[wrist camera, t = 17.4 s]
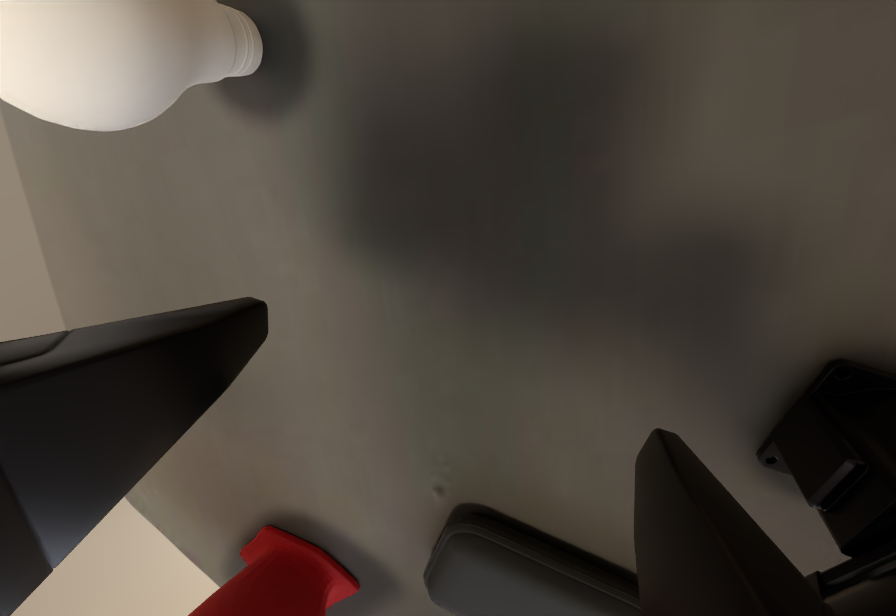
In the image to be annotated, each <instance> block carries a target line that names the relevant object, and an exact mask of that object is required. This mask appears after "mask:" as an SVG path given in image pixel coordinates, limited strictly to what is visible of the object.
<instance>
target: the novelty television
mask: <svg viewBox="0 0 896 616" xmlns="http://www.w3.org/2000/svg"><path fill="white" fill-rule="evenodd" d="M240 556H241V557H242V558H243V560H244V561H245V562H246V563H247V565H248V566H247V567H246V568H245V569H243V570H242V571H241V572H240V573H238V574H237V575H236V576H234V577H233V578H232V579H231V580H229V581H228V582H227V583H226V584H224V585H223V586H222V587H221V588H220V589H218V590H217V591H216V592H215V593H213V594H212V595H211V596H210V597H209V598H208V599H206V600H205V601H204V602H203V603H202V604H201V605H200V606H198V607H197V608H196V609H195V610H194V611H193V612H192V613H190V614H189V615H188V616H326V609H328V608H329V607H330V606H331V605H333V604H334V603H336V602H338V601H340V600H342V599H344V598H347V597H349V596H351V595H353V594H355V593H356V592H357V591H358V590H359V588H360V585H359V584H358V583H357V582H356V580H355V579H354V578H353V577H352V576H351V575H350V574H349V573H348V572H347V571H346V570H345V569H344V568H342V567H341V566H340V565H339V564H338V563H337V562H336V561H335V560H334V559H332V558H331V557H330V556H329V555H328V554H326V553H325V552H324V551H323V550H321V549H320V548H318V547H316V546H314V545H312V544H310V543H308V542H306V541H304V540H302V539H300V538H298V537H296V536H293V535H291V534H289V533H287V532H285V531H282V530H280V529H277V528H275V527H272V526H265V527H263V528H262V529H261V531H260V532H259V533H258V535H257V536H256V538H255V539H254V540H252V541H251V542H250V543H248V544H247V545H245V546H244V547H243V548H242V550H241V552H240Z"/></svg>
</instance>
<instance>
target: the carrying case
mask: <svg viewBox="0 0 896 616" xmlns="http://www.w3.org/2000/svg"><path fill="white" fill-rule="evenodd" d="M423 577H424V583H425V586H426V588H427V590H428V593H429V596H430V598H431V600H432V601H433V602H434V603H435V604H437V605H438V606H439V607H441V608H443V609H445V610H447V611H449V612H451V613H453V614H455V615H457V616H641V607H640V596H639V588H638V587H636V586H635V585H633V584H631V583H630V582H628V581H626V580H624V579H622V578H620V577H617V576H615V575H613V574H611V573H609V572H607V571H605V570H602V569H600V568H598V567H596V566H594V565H592V564H589V563H587V562H585V561H583V560H581V559H579V558H576V557H574V556H572V555H570V554H568V553H566V552H563V551H561V550H559V549H557V548H555V547H552V546H550V545H548V544H546V543H543V542H541V541H539V540H537V539H534V538H532V537H530V536H528V535H525V534H523V533H521V532H519V531H516V530H514V529H512V528H509V527H507V526H505V525H503V524H500V523H498V522H496V521H493V520H491V519H489V518H486V517H484V516H481V515H476V514H466V515H463V516H461V517H459V518H456V519H454V520H452V521H451V522H450V523H449V524H448V525H447V526H446V528H445V530H444V532H443V534H442V536H441V538H440V540H439V542H438V544H437V546H436V548H435V550H434V552H433V554H432V556H431V558H430V560H429V562H428V564H427V566H426V568H425V571H424V574H423Z"/></svg>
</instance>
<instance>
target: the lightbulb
mask: <svg viewBox="0 0 896 616" xmlns="http://www.w3.org/2000/svg"><path fill="white" fill-rule="evenodd" d="M262 53H263V46H262V40H261V37H260V34H259V31H258V29H257V27H256V26H255V24H254V22H253V21H252V20H251V19H250V18H249V17H248V16H247V15H246V14H244V13H243V12H241V11H239V10H236V9H233V8H231V7H228V6H225V5H223V4H219V3H217V2H216V1H215V0H0V98H1V99H3V100H4V101H6V102H8V103H10V104H12V105H13V106H15V107H17V108H19V109H21V110H23V111H25V112H27V113H29V114H31V115H33V116H35V117H37V118H40V119H43V120H46V121H50V122H53V123H57V124H60V125H64V126H67V127H71V128H75V129H83V130H91V131H117V130H125V129H128V128H132V127H136V126H138V125H141V124H144V123H146V122H149V121H151V120H153V119H154V118H156V117H158V116H159V115H161V114H162V113H163V112H164V111H165V110H167V109H168V108H169V107H170V106H171V105H172V104H173V103H174V102H176V100H177V99H178V98H179V97H180V96H181V94H182V93H183V92H184V91H185V90H186V89H188V88H189V87H191V86H193V85H197V84H200V83H214V82H217V81H220V80H222V79H223V78H225V77H236V76H246V75H250V74H252V73H253V72H255V71H256V70H257V68H258V67H259V65H260V63H261V60H262Z"/></svg>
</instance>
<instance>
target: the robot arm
mask: <svg viewBox="0 0 896 616" xmlns="http://www.w3.org/2000/svg"><path fill="white" fill-rule="evenodd" d="M267 335H268V308H267V304H266V303H265V302H264V301H261V300H258V299H255V298H252V297H245V298H239V299H234V300H229V301H223V302H218V303H213V304H207V305H202V306H196V307H191V308H186V309H180V310H175V311H170V312H164V313H159V314H153V315H148V316H143V317H137V318H132V319H127V320H121V321H116V322H111V323H105V324H100V325H94V326H89V327H84V328H78V329H73V330H71V331H70V332H69V331H62V332H56V333H51V334H46V335H40V336H35V337H29V338H23V339H17V340H11V341H5V342H0V616H10V615H11V614H12V613H13V612H14V611H15V610H16V609H17V608H18V607H19V606H20V605H21V604H22V603H23V601H25V599H26V598H27V597H28V596H29V595H30V594H31V593H32V592H33V591H34V590H35V589H36V588H37V587H38V586H39V585H40V584H41V583H42V582H43V581H44V580H45V579H46V578H47V577H48V576H49V574H50V573H51V572H52V571H53V568H55V567H56V566H58V565H59V564H60V562H62V561H63V560H64V558H65V557H66V556H67V555H68V554H69V553H70V552H71V551H72V550H73V549H74V548H75V547H76V546H77V545H78V544H79V543H80V542H81V541H82V540H83V539H84V537H86V536H87V535H88V533H89V532H90V531H91V530H92V529H93V528H94V527H95V526H96V525H97V524H98V523H99V522H100V521H101V520H102V519H103V518H104V517H105V516H106V515H107V514H108V513H109V512H110V510H111V509H112V508H113V507H114V506H115V505H116V504H117V503H118V502H119V501H120V500H121V499H122V498H123V497H124V496H125V495H126V494H127V493H128V492H129V491H130V490H131V489H132V488H133V487H134V486H135V484H136V483H137V482H138V481H139V480H140V479H141V478H142V477H143V476H144V475H145V474H146V473H147V472H148V471H149V470H150V469H151V468H152V467H153V466H154V465H155V464H156V463H157V462H158V461H159V459H160V458H161V457H162V456H163V455H164V454H165V453H166V452H167V451H168V450H169V449H170V448H171V447H172V446H173V445H174V444H175V443H176V442H177V441H178V440H179V439H180V438H181V437H182V436H183V434H184V433H185V432H186V431H187V430H188V429H189V428H190V427H191V426H192V425H193V424H194V423H195V422H196V421H197V420H198V419H199V418H200V417H201V416H202V415H203V414H204V413H205V412H206V411H207V409H208V408H209V407H210V406H211V405H212V404H213V403H214V402H215V401H216V400H217V399H218V398H219V397H220V396H221V395H222V394H223V393H224V392H225V390H226V389H227V388H228V387H229V386H230V385H231V383H232V382H233V381H234V380H235V378H236V377H237V376H238V375H239V373H240V372H241V371H242V369H243V368H244V367H245V366H246V364H247V363H248V362H249V360H250V359H251V358H252V357H253V355H254V354H255V353H256V351H257V350H258V349H259V348H260V346H261V345H262V344H263V342H264V341H265V339H266V338H267ZM843 369H846V370H845V371H844V372H843V373H840V374H837V372H838V371H840V370H843ZM756 454H757V458H758V460H759V462H760V463H761V465H763V466H765V467H767V468H770V469H773V470H776V471H780V472H783V473H786V474H789V475H792V476H793V478H794V480H795V481H796V483H797V485H798V487H799V489H800V490H801V492H802V494H803V496H804V498H805V499H806V501H807V503H808V504H809V506H810V507H813V508H816V509H817V511H818V512H819V514H820V516H821V518H822V519H823V521H824V523H825V525H826V526H827V528H828V530H829V532H830V533H831V535H832V537H833V539H834V540H835V542H836V544H837V546H838V547H839V549H840V551H841V553H843V554H844V555H847V556H850V557H852V558H851V559H849V560H847V561H844V562H842V563H840V564H838V565H836V566H834V567H832V568H830V569H827V570H825V571H823V572H819V571H816V572H814V573H812V574H810V575H807V576H805V577H804V576H803V575H802V574H801V573H800V572H799V571H798V569H797V568H796V567H795V566H794V565H793V564H792V563H791V562H790V560H789V559H788V558H787V557H786V556H785V555H784V554H783V553H782V551H781V550H780V549H779V548H778V547H777V546H776V545H775V544H774V543H773V541H772V540H771V539H770V538H769V537H768V536H767V535H766V534H765V532H764V531H763V530H762V529H761V528H760V527H759V526H758V525H757V523H756V522H755V521H754V520H753V519H752V518H751V517H750V516H749V514H748V513H747V512H746V511H745V510H744V509H743V508H742V507H741V505H740V504H739V503H738V502H737V501H736V500H735V499H734V498H733V496H732V495H731V494H730V493H729V492H728V491H727V490H726V489H725V488H724V486H723V485H722V484H721V483H720V482H719V481H718V480H717V479H716V477H715V476H714V475H713V474H712V473H711V472H710V471H709V470H708V468H707V467H706V466H705V465H704V464H703V463H702V462H701V461H700V459H699V458H698V457H697V456H696V455H695V454H694V453H693V452H692V450H691V449H690V448H689V447H688V446H687V445H686V444H685V443H684V441H683V440H682V439H681V438H680V437H679V436H678V435H677V434H675V433H672V432H669V431H666V430H663V429H660V428H657V429H654V430H653V431H652V432H651V434H650V435H649V437H648V439H647V440H646V442H645V444H644V445H643V447H642V449H641V450H640V452H639V454H638V456H637V459H636V464H635V501H634V542H635V554H636V564H637V575H638V586H639V596H640V607H641V616H896V374H893V373H890V372H886V371H883V370H879V369H876V368H872V367H869V366H865V365H862V364H858V363H855V362H851V361H848V360H842V359H840V360H834V361H832V362H830V363H829V364H827V365H826V366H825V368H824V369H823V370H822V371H821V373H820V374H819V375H818V376H817V378H816V379H815V380H814V381H813V383H812V384H811V385H810V386H809V388H808V389H807V390H806V391H805V393H804V394H803V395H802V396H801V397H800V398H799V399H798V400H797V401H796V402H795V404H794V405H793V406H792V407H791V409H790V410H789V411H788V412H787V414H786V415H785V416H784V417H783V419H782V420H781V421H780V422H779V424H778V425H777V426H776V427H775V429H774V430H773V431H772V432H771V434H770V436H769V437H768V439H767V440H766V441H765V442H764V444H763V445H762V446H761V447H760V449H759V450H758V451H757V453H756ZM770 456H773V457H772V458H767V457H770Z"/></svg>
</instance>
